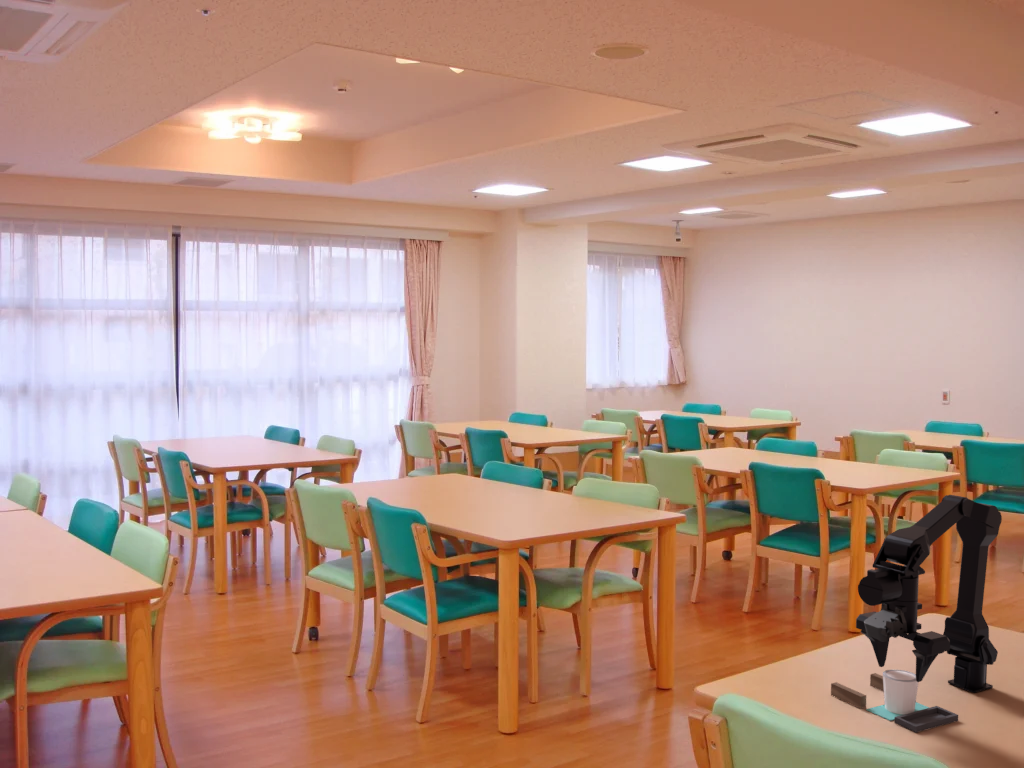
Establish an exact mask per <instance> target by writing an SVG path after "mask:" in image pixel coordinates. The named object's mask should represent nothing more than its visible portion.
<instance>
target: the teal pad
mask: <svg viewBox="0 0 1024 768" xmlns="http://www.w3.org/2000/svg"><path fill="white" fill-rule="evenodd" d="M927 708H930V707H929V706H927V705H924V704H922V703H920V702H917V701H916V704H915V711H919V710H923V709H927ZM866 711H867V712H870V713H872V714H873V715H876V716H878V717H881V718H883V719H885V720H887V721H889V722H891V721H892V722H893V721H895V717H897V716H900V715H904V714H896V713H893V712H890V711H888V710H887V709H886V708H885V703H884V704H881V705H878V706H873V707H870V708H866ZM915 711H914V712H915Z"/></svg>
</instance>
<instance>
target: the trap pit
mask: <svg viewBox="0 0 1024 768" xmlns="http://www.w3.org/2000/svg"><path fill="white" fill-rule="evenodd" d="M955 722H959V714H957V713H955V712H952V711H950V710H948V709H945V708H943V707H940V706H938V705H934V706H931V707H929V708H927V709H923V710H919V711H915V712H912V713H908V714H904V715H900V716H897V717H895V720H894V724H895V725H898V726H900V727H902V728H905V729H906V730H909V731H911V732H912V733H920V732H923V731H927V730H930V729H934V728H937V727H941V726H944V725H949V724H953V723H955Z"/></svg>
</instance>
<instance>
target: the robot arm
mask: <svg viewBox="0 0 1024 768" xmlns="http://www.w3.org/2000/svg"><path fill="white" fill-rule="evenodd" d="M1002 521H1003V517H1002V513H1001V511H999V509H998V507H997V506H995V505H993V504H987V503H981V502H976V501H974V500H972V499H970V498H968V497H966V496H962V495H961V496H959V495H955V494H948V495H947V494H946V495H944V496H943V497H942V499H941V502H939V503H938V504H937V505H936V506H935V507H933V508H932V509H931V510H930V511H928V513H926V514H925V515H924V516H923V517H921V518H920V519H919V520H918V521H916V522H915V523H914V524H912V525H911V526H908V527H903V528H898V529H897V530H895V531H893V532H891V533H890V534H888V535H887V536H886V537H885V539H884V540H883V542H882V544H881V547H880V548H879V551H878V553H877V555H876V557H875V559H874V562H873V564H872V569H868V570H867V573H866V574H867V575H865V576H863V577H862V578H861V579H860V581H859V583H858V584H857V592H858V593H857V594H858V595H859V597H860V599H861V601H862V602H863V603H864V604H865V605H868V606H871V607H875V606H879V605H880V606H881V608H880V610H879V611H870V612H865V613H859V614H858V616H857V617H856V619H855V628H856V629H858V630H860V633H861V634H863V635H864V636H865V637H866V638H867V639H869V642H870V643H871V646H872V648H873V651H874V655H875V658H876V661H877V664H878V667H879V668H882V667H884V666H885V664H886V661H887V655H888V649H889V643H890V638H894V639H897V638H898V637H900V638H903V639H906V640H909V641H912V645H913V647H914V649H913V650H911V652H912V653H913V655H914V656H915V674H916V681H917V682H918V683H921V682H922V681H923V679H924V678H925V676H926V674H927V673H928V670H929V668H930V666H931V665H932V664H933V663H934V661H935V659H937V657H938V656H939V655H941V654H944V653H945V652H946V654H948V655H951V656H954V665H953V666H954V667H953V678H951V679H948V680H947V683H948V684H949V685H952V686H955V687H957V688H959V689H963V690H965V691H967V692H970V693H978V692H983V691H986V690H990V689H992V688H993V684H990V683H988V682H987V674H988V665H990V666H991V665H994V663H995V662H997V657H998V653H999V652H998V650H997V649H996V647H995V646H994V644H993V643H992V641H991V640H990V629H989V628H990V627H989V625H988V623H987V621H986V619H985V617H984V614H983V607H984V594H985V586H986V585H985V584H986V578H987V577H986V575H987V563H988V554H989V553H988V552H989V546H990V545H991V544H992V542H994V540H995V539H996V538H997V537H998V535H999V531H1000V526H1001V524H1002ZM954 525H955V528H956V531H957V534H958V535H959V537H960V540H961V542H962V547H961V548H962V549H961V559H960V560H961V561H960V571H959V578H958V579H959V580H958V590H957V591H958V592H957V600H956V609H955V611H954V612H953V613H952V615H951V616H947V617H945V619H944V630H943V633H938V632H937V631H932V630H931V631H927V632H918V630H921V629H922V623H919V622H918V611H919V610H923V603H920V602H919V583H920V581H919V578H920V577H919V576H920V575H925V574H926V570H925V569H924V568H923V567H921V565H922V564H923V563H924V562H925V560H926V559H927V558H928V557H929V555H930V553H931V552H930V551H931V546H932V545H933V543H935V542H936V541H937V540H938V539H939V538H940V537H942V536H943V535H944V534H945V533H946V532H947V531H949V530H950V529H951V528H952V527H953V526H954ZM873 568H874V569H873Z"/></svg>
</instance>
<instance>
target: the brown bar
mask: <svg viewBox="0 0 1024 768" xmlns="http://www.w3.org/2000/svg"><path fill="white" fill-rule="evenodd" d="M869 680H870V681H869V682H870V683H869V686H870V687H872V688H875V689H878V690H879V691H882V692H884V687H883V675H881V674H879V673H876V672H874V673H871V674H870V678H869ZM832 695H833V696H832ZM830 696H832V697H834V696H835V697H834V698H836V697H837V698H836V699H838V700H840V699H841V700H840V701H843V702H845V703H848V704H849V705H851V706H854V707H856V708H858V709H860V710H861V709H864V708H866V707H867V694H864V693H861V692H860V691H858V690H855V689H852V688H851V687H849V686H846V685H844V684H842V683H839V682H837V681H836V682H831V684H830ZM866 709H867V708H866Z"/></svg>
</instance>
